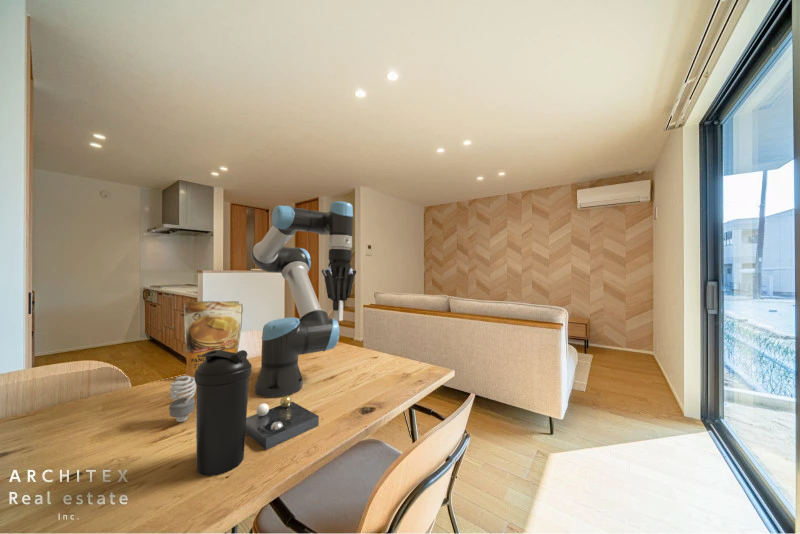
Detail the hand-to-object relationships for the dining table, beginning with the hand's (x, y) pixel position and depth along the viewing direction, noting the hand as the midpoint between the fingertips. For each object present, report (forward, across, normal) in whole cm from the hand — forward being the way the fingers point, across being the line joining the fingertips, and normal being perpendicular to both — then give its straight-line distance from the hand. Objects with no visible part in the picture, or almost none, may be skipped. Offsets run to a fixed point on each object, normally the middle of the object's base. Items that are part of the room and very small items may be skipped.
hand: (338, 320), depth 96 cm
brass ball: (+20, -18, -1) cm, 28 cm away
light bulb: (+25, -38, +16) cm, 48 cm away
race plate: (+24, -22, -6) cm, 34 cm away
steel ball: (+23, -25, -8) cm, 35 cm away
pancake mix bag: (+25, -21, +47) cm, 57 cm away
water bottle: (+25, -38, -9) cm, 46 cm away
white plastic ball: (+20, -25, -1) cm, 32 cm away
